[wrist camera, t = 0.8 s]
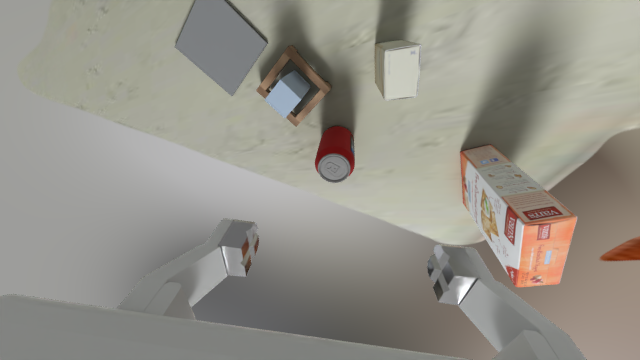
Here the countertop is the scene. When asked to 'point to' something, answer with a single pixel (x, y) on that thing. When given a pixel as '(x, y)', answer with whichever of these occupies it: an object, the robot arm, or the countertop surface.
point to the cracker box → (516, 217)
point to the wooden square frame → (308, 70)
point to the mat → (220, 43)
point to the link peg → (287, 93)
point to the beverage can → (335, 154)
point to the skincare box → (397, 69)
